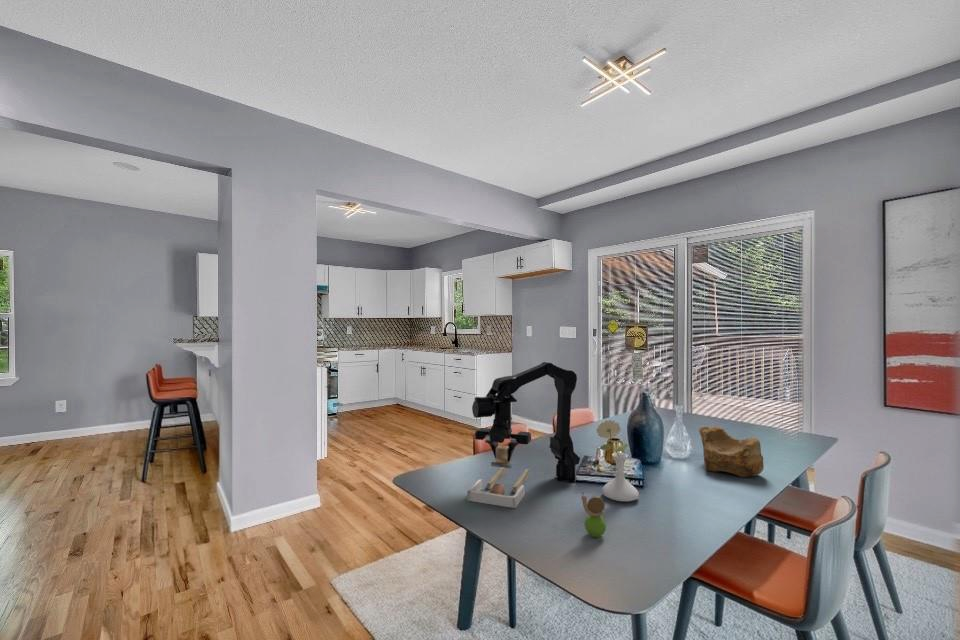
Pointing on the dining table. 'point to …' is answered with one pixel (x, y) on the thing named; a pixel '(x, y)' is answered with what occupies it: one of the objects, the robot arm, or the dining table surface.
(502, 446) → the scraper
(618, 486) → the flower in vase
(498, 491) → the chip
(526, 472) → the channel
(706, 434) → the rough brown rock
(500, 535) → the dining table surface
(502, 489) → the brown cube
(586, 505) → the snail figurine
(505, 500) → the tray
